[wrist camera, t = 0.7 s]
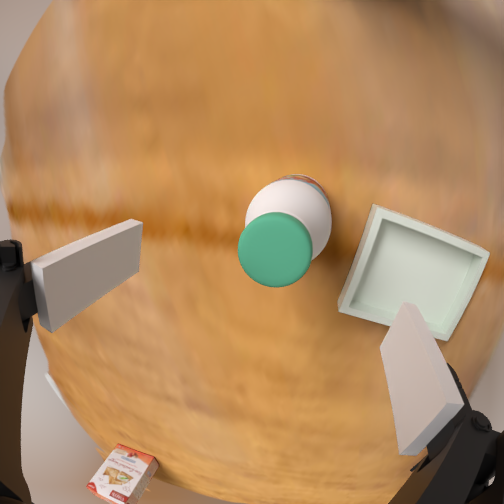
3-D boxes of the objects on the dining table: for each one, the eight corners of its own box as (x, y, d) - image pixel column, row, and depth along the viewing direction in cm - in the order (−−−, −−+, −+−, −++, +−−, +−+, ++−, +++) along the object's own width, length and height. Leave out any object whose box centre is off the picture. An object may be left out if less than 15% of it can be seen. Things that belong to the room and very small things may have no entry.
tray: (372, 203, 34) (377, 207, 31) (480, 246, 31) (490, 252, 28) (337, 301, 39) (338, 311, 36) (441, 330, 36) (447, 341, 33)
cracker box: (153, 455, 65) (123, 506, 46) (160, 465, 67) (131, 514, 47) (117, 442, 68) (84, 486, 49) (123, 452, 70) (94, 495, 51)
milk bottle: (340, 213, 35) (362, 274, 16) (289, 245, 38) (258, 329, 19) (305, 161, 34) (289, 162, 15) (255, 196, 37) (188, 235, 18)
